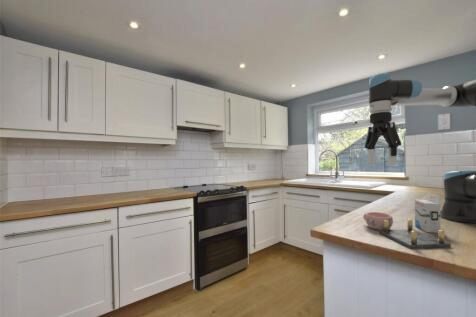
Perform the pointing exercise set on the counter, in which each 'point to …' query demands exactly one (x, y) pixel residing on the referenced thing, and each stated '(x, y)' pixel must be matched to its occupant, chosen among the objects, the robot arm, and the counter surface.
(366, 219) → the pink bowl
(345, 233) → the counter surface
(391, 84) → the robot arm
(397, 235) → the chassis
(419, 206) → the ink box
